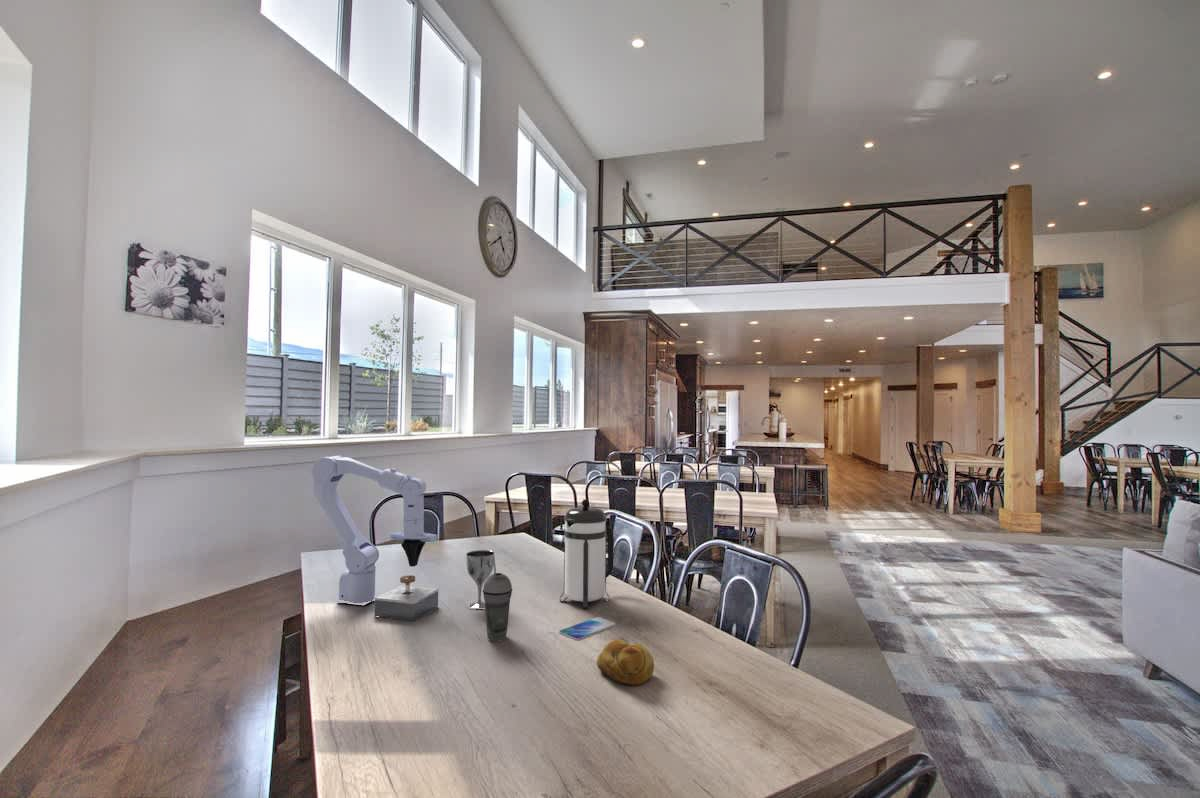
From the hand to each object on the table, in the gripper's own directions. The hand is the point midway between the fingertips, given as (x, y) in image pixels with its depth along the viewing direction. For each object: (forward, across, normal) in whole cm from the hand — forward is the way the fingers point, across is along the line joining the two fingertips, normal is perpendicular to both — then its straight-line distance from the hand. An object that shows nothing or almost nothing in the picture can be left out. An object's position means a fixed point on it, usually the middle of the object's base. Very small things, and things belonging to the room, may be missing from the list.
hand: (413, 565), depth 163 cm
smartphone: (+12, -56, +6) cm, 57 cm away
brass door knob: (+7, -4, +8) cm, 12 cm away
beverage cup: (+11, -36, +18) cm, 41 cm away
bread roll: (+12, -70, +29) cm, 77 cm away
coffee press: (+12, -48, -16) cm, 52 cm away
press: (+10, -4, +7) cm, 13 cm away
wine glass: (+11, -20, -2) cm, 23 cm away
